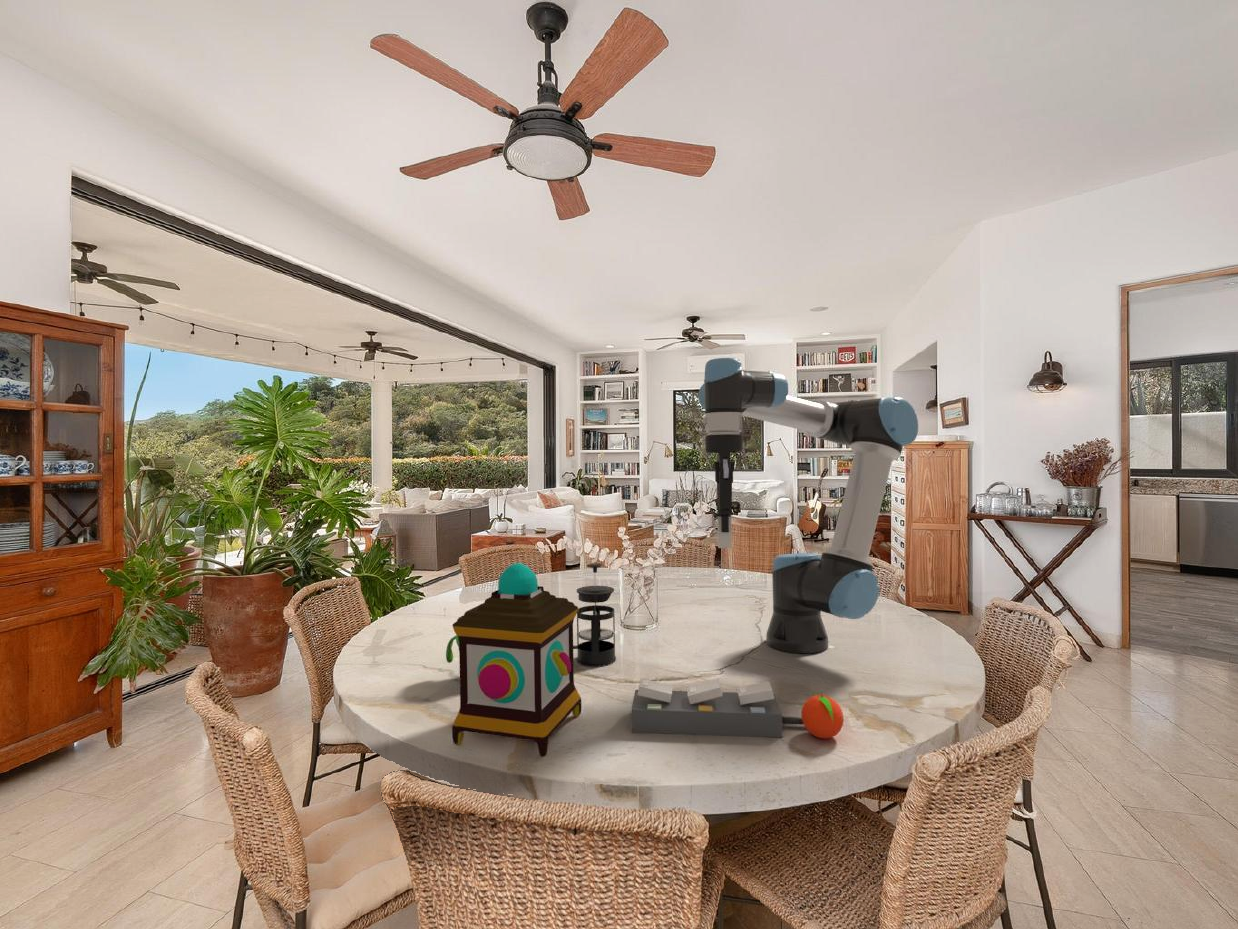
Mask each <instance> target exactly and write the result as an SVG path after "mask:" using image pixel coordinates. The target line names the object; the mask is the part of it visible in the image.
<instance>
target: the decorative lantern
mask: <svg viewBox="0 0 1238 929" xmlns="http://www.w3.org/2000/svg"><path fill="white" fill-rule="evenodd" d="M497 587H498V588H497V590H494V591H493V592H491V596H490V597H488V598H486V599H485V600H484V602H483V603H481V604H478V605H477V606H475V607H473V608H471V609H468V610H467V611H465V612H464V614H463V615H461V616H459V617H457V620H456V621H454V622H453V623H452V628H453V631H454V633H455V636H456V635H457V637H458V639H459V646H458V647H459V648H458V653H459V655H458V656H459V660H458V661H459V699H460V700H459V701H460V702H459V704H460V705H459V710H458V713H457V714H456V717H455V719H454V721H453V724H452V727H451V737H452V742H453V744H454V745H456V746H459V745H461V744H462V743H463V740H464V732H466V733H475V734H481V735H489V736H496V737H504V738H512V739H518V740H525V741H526V740H527V741H531V742H533V743H535V744H536V746H537V750H538V755H539V757H540V758H545V757H546V755H547V753H548V746H549V739H550V737H551V736H552V735H553V734H554V733H555V731H556V730H557V729H558V728H559V727H560V726H561V725H562V723H563V722H564V721H565V720H566V719H567V717H568V716H570V714H571V713H572V715H573V716H574V717H575V718H578V717H579V716H580V715H581V714H582V697H581V696H580V695H581V694H580V693H579V691H578V690H577V687H576V686H575V674H574V672H575V668H574V665H575V664H574V663H575V662H574V649H573V646H574V620H575V618H576V617H577V611H578V609H579V606H577V605H575V603H574V602H572V601H569V599H568V598H566V597H557V596H556V595H553V594H551V593H550V591H547V590H545V589H544V586H542V585H541V586H540V585H538V578H537V575H536V573H535V572H534V571H533V570H532V569H531V568H530V567H529V566H527V565H526V564H525V563H524V564H523V563H520V562H515V563H513V564H511V565H509V566H508V567H507V568H505V570H504V571H503V572H502V573H501V574H500V576H499V577H498V586H497Z"/></svg>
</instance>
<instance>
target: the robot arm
mask: <svg viewBox="0 0 1238 929" xmlns="http://www.w3.org/2000/svg"><path fill="white" fill-rule="evenodd" d="M703 380H704V381H703V383H702V385H701V386H700V388H699V391H698V396H697V397H698V402H699V403H700V406H701V407H702V408H703V409H704V410H705V411H704V412H705V415H704V416H705V417H703V418H702V419H701V420H702V424H703V423H704V424H705V432H706V433H707V434H708V435H706V436H705V439H704V440H705V444H704V446H705V450H704V451H705V452H706V453H709V454H717V461H714V462H713V469H714V473H715V474H714V477H715V478H714V481H715V483H716V511H717V512H716V513H714V516H715V517H716V518H717V548H718V549H732V543H733V541H732V516H734V511H733V482H734V471H735V461H731V453H732V454H734V453H736V454H737V453H741V452H742V451H743V436H742V435H741V434H740V433H741V432H743V417H746V418H752V419H755V420H759V421H764V422H768V423H771V424H776V425H780V426H783V427H788V428H792V429H796V430H800V431H805V432H806V433H807V435H809V436H810V437H813V438H816V439H820V440H824V441H827V442H832V443H835V444H839V445H844V446H849V447H850V449H851V450H852V452H853V454H854V455H853V460H852V463H851V468H850V471H849V474H848V478H847V483H846V486H845V491H844V494H843V497H842V503H841V506H840V510H839V514H838V518H837V522H836V526H835V530H834V533H833V537H832V541H831V544H830V545H831V546H829V548H827V549H825V550H824V551H822V553H821V555H820V554H819V553H818V552H817V553H816V552H800V553H798V552H797V553H786V554H780V555H779V554H778V555H776V556H775V558H774V559H773V561H772V570H771V573H772V574H771V575H772V579H771V580H772V615H771V618H770V620H769V625H768V627H767V630H766V634H765V636H766V637H765V639H766V640H765V641H766V644H767V645H768V646H769V647H771V648H773V649H775V650H779V651H782V652H785V653H795V654H815V653H820V652H824V651H826V650H827V649H828V648H829V636H828V633H827V631H826V627H825V624H824V621H823V618H822V616H821V615H822V614H821V613H826V614H828V615H833V616H835V617H837V618H840V619H841V618H843V619H844V618H845V619H849V620H858V619H861V618H862V619H863V618H864V617H865V615H868V614H869V613H870V612H872V609H874V607H875V605H876V603H877V602H878V599H879V594H880V585H879V579H878V577H877V575H875V574H874V573H873V569H874V564H873V563H872V561H871V559H870V553H871V548H872V544H873V540H874V536H875V533H876V532H875V531H876V529H877V524H878V519H879V515H880V512H881V507H882V504H883V500H884V495H885V492H886V488H887V487H886V486H887V483H888V478H889V476H890V471H891V467H892V462H894V461H896V460H897V459H899V458H900V457H901V455H902V451H903V447H906V446H909V445H911V444H912V443H914V441H915V440H916V439H917V437H918V432H919V420H918V416H917V413H916V412H915V411H916V410H915V408H914V407H913V405H912V404H911V403H910V402H909V401H908V400H906V399H905V398H904V397H899V396H895V397H891V396H890V397H889V396H884V397H883V396H882V397H879V398H872V399H871V398H870V399H861V400H860V399H858V400H849V401H839V402H836V401H835V402H831V401H826V400H818V401H817V400H816V401H815V402H814V401H810V400H808V399H803V398H799V397H795V396H793V395H789V382H788V380H787V378H786V377H785V375H783V374H781V373H780V372H779V373H778V372H772V371H769V370H768V371H759V370H744V369H743V367H742V361H741V360H740V359H739V358H736V357H719V358H713V359H709V360H708V361H706V363H705V366H704V379H703Z"/></svg>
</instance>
